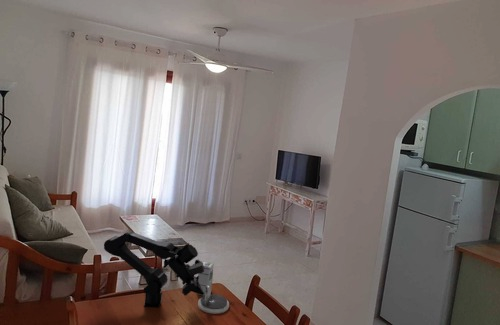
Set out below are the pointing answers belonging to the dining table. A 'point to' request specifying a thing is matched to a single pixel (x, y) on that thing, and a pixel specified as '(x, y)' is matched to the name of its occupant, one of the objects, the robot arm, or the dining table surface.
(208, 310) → the base
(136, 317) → the dining table surface
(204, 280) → the syrup box
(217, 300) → the dial
